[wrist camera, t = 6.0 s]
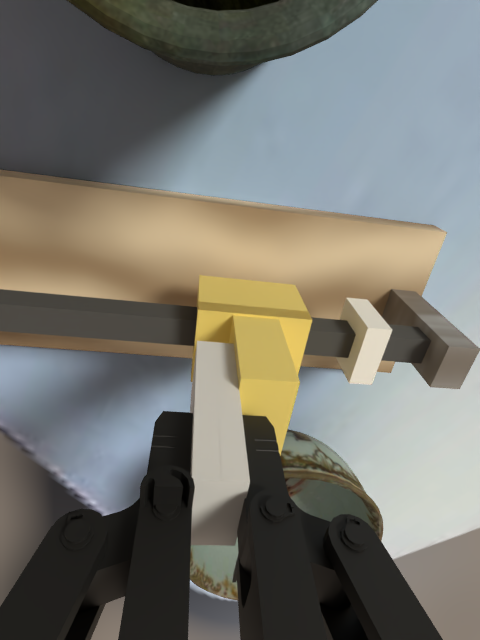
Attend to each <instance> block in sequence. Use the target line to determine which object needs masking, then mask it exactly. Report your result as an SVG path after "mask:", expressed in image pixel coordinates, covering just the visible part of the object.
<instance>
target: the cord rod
mask: <svg viewBox="0 0 480 640" xmlns="http://www.w3.org/2000/svg"><path fill="white" fill-rule="evenodd" d="M311 318H312V324H311V327H310V331H309V335H308V339H307V343H306V346H305V350H304V354H303V355H316V356H329V357H342V358H348V357H349V354H350V351H351V348H352V345H353V342H354V339H355V336H356V334H355V332H354V331H353V329H352V328H351V326H350V324H349V323H348V321H347V320H336V319H325V318H314V317H311ZM196 321H197V307H192V306H181V305H170V304H159V303H148V302H137V301H126V300H115V299H104V298H93V297H82V296H70V295H59V294H48V293H37V292H26V291H15V290H4V289H0V331H4V332H17V333H30V334H43V335H56V336H69V337H82V338H95V339H108V340H121V341H134V342H147V343H160V344H173V345H186V346H194V341H195V331H196ZM388 325H389V326H390V327H391V329H392V333H391V335H390V338H389V341H388V343H387V346H386V349H385V351H384V354H383V356H382V359H381V361H394V362H407V363H420V364H421V363H422V361H423V358H424V356H425V354H426V352H427V349H428V347H429V345H430V343H431V340H430V339H429V338H428V337H427V336H426V335H425V334H424V333H423V332H422V331H421V330H420V328H419V327H414V326H402V325H391V324H388Z"/></svg>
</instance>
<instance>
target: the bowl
mask: <svg viewBox="0 0 480 640" xmlns="http://www.w3.org/2000/svg"><path fill="white" fill-rule="evenodd" d="M280 458H281V463H282V467H283V472H284V477H285V482H286V486H287V490H288V493H289V496H290V498H291V499H292V500H293V501H294V502H295V504H296V505H297V506H298V507H299V508H300V509H301V510H303V511H304V512H306V513H308V514H310V515H312V516H315V517H318V518H321V519H324V520H327V521H330V522H331V521H332V519H333V518H334V517H336V516H338V515H340V514H351V515H353V516H356V517H359V518H361V519H362V520H364V521H365V522H366V523H368V524H369V525H370V527H371V528H372V529H373V530H374V531H375V533H376V534H377V536H378V537H379V539H380V541H381V540H382V535H383V520H382V516H381V514H380V511H379V508H378V507H377V505H376V504H375V503H374V501H373V500H372V499H371V498H370V497H369V496H368V495H367V494H366V492H365V491H364V489H363V487H362V485H361V484H360V482H359V480H358V479H357V477H356V476H355V474H354V473H353V471H352V470H351V469H350V467H349V466H348V465H347V463H346V462H345V461H344V460H343V459H342V458H341V457H340V456H339V455H338V454H337V453H336V452H334V451H333V450H332V449H331V448H329V447H328V446H327V445H325V444H324V443H322V442H320V441H319V440H317V439H315V438H313V437H311V436H309V435H307V434H303V433H300V432H297V431H292V430H287V433H286V436H285V440H284V444H283V448H282V451H281V455H280ZM238 553H239V552H238V538H237V540H236V544H235V546H220V545H191V556H190V580H191V581H192V582H193V583H194V584H196V585H197V586H199V587H200V588H202V589H204V590H206V591H208V592H211V593H213V594H216V595H219V596H221V597H224V598H229V599H233V600H238V590H237V581H236V582H232V580H233V573H234V569H235V565H236V561H237V557H238Z"/></svg>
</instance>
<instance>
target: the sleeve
mask: <svg viewBox="0 0 480 640" xmlns="http://www.w3.org/2000/svg"><path fill="white" fill-rule="evenodd" d="M196 307H197V321H196V331H195V341H194V346H193V353H192V371H191V382H193V373H194V364H195V355H196V346H197V341H207V342H219V343H231V344H234V351H235V359H236V368H237V377H238V386H239V391H240V400H241V409H242V415H253V416H266V417H267V418H268V420H269V421H270V422H271V424H272V425H273V427H274V429H275V434H276V439H277V444H278V448H279V453H280V455H281V451H282V448H283V444H284V440H285V436H286V433H287V429H288V425H289V422H290V418H291V414H292V410H293V407H294V403H295V399H296V395H297V392H298V388H299V384H300V381H299V378H298V373H299V369H300V366H301V362H302V358H303V354H304V350H305V346H306V343H307V339H308V335H309V331H310V327H311V324H312V318H311V316H310V314H309V312H308V310H307V308H306V306H305V304H304V302H303V300H302V298H301V296H300V294H299V292H298V290H297V288H296V286H295V285H292V284H282V283H272V282H262V281H252V280H242V279H233V278H223V277H213V276H203V275H199V286H198V296H197V306H196Z"/></svg>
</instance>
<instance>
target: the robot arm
mask: <svg viewBox="0 0 480 640" xmlns="http://www.w3.org/2000/svg"><path fill="white" fill-rule="evenodd" d="M237 538H238V552H239V553H238V557H237V561H236V565H235V569H234V573H233V580H232V582H236V581H237V590H238V606H239V622H240V637H241V640H443V639H442V638H441V636H440V635H439V633H438V631H437V630H436V628H435V627H434V625H433V623H432V622H431V620H430V618H429V617H428V616H427V614H426V612H425V610H424V609H423V607H422V606H421V604H420V603H419V601H418V599H417V598H416V596H415V595H414V593H413V591H412V590H411V588H410V587H409V585H408V584H407V582H406V581H405V579H404V577H403V576H402V574H401V572H400V571H399V569H398V568H397V566H396V564H395V563H394V561H393V560H392V558H391V556H390V555H389V553H388V552H387V550H386V549H385V547H384V545H383V544H382V542H381V541H380V539H379V537H378V536H377V534H376V533H375V531H374V530H373V529H372V528H371V527H370V525H369V524H368V523H366V522H365V521H364V520H362V519H361V518H359V517H356V516H353V515H351V514H340V515H338V516H336V517H334V518H333V519H332V521H331V522H330V521H327V520H324V519H321V518H318V517H315V516H312V515H310V514H308V513H306V512H304V511H303V510H301V509H300V508H299V507H298V506H297V505H296V504H295V502H294V501H293V500H292V499H291V498H290V496H289V493H288V490H287V486H286V482H285V477H284V472H283V467H282V463H281V458H280V453H279V448H278V444H277V439H276V434H275V429H274V427H273V425H272V424H271V422H270V421H269V420H268V418H267V417H266V416H253V415H242V409H241V400H240V391H239V386H238V377H237V368H236V359H235V351H234V344H231V343H219V342H207V341H197V346H196V355H195V364H194V373H193V382H192V391H191V406H190V413H186V412H168V411H163V412H162V414H161V415H160V416H159V418H158V419H157V420H156V422H155V426H154V432H153V439H152V445H151V451H150V457H149V464H148V470H147V475H146V476H145V477H144V478H143V481H142V483H141V486H140V498H139V499H138V500H137V501H136V502H135V503H134V504H133V505H132V506H130V507H129V508H127V509H125V510H122V511H120V512H117V513H113V514H110V515H106V516H103V517H102V515H101V514H100V513H98V512H96V511H94V510H91V509H79V510H75V511H72V512H69V513H67V514H65V515H64V516H62V517H61V518H59V519H58V520H57V521H56V522H55V524H54V525H53V526H52V527H51V529H50V530H49V531H48V533H47V535H46V536H45V538H44V539H43V541H42V542H41V544H40V545H39V547H38V549H37V550H36V552H35V553H34V555H33V556H32V558H31V560H30V561H29V563H28V564H27V566H26V567H25V569H24V571H23V572H22V574H21V576H20V577H19V579H18V580H17V582H16V583H15V585H14V586H13V588H12V589H11V591H10V592H9V594H8V596H7V597H6V599H5V600H4V602H3V603H2V605H1V607H0V640H90V639H91V637H92V634H93V632H94V630H95V628H96V625H97V623H98V620H99V618H100V616H101V613H102V611H103V609H104V606H105V604H106V603H108V602H110V601H112V600H115V599H118V598H121V597H124V596H125V601H124V607H123V614H122V620H121V626H120V632H119V639H118V640H188V616H189V615H188V614H189V587H190V556H191V545H220V546H235V544H236V540H237Z"/></svg>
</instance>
